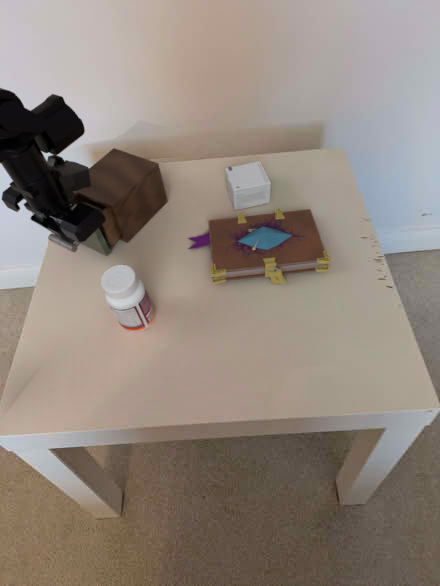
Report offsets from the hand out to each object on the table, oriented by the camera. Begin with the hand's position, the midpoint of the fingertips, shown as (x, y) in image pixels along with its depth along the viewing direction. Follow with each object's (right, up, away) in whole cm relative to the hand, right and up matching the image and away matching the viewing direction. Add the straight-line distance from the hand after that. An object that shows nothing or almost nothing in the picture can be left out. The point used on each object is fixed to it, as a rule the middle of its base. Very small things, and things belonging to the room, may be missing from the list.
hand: (73, 241), depth 69 cm
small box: (+33, +11, +10) cm, 36 cm away
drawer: (+3, +2, +6) cm, 7 cm away
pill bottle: (+13, -14, -5) cm, 20 cm away
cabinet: (+8, +8, +10) cm, 15 cm away
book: (+34, -2, +1) cm, 34 cm away
